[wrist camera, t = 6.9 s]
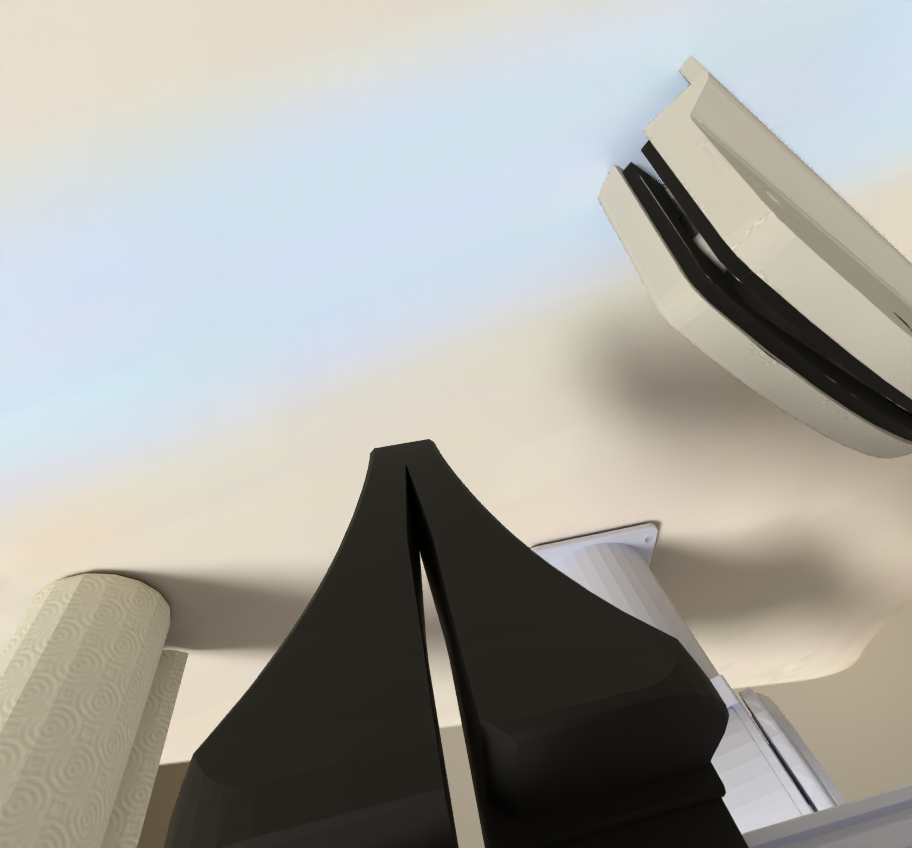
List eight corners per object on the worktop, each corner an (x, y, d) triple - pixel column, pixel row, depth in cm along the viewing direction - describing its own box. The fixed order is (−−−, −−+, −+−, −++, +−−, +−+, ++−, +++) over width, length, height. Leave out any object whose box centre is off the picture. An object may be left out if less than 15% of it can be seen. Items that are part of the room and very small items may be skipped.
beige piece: (918, 270, 23) (1097, 440, 17) (818, 337, 26) (937, 501, 20) (682, 47, 16) (836, 193, 10) (583, 173, 19) (653, 346, 13)
